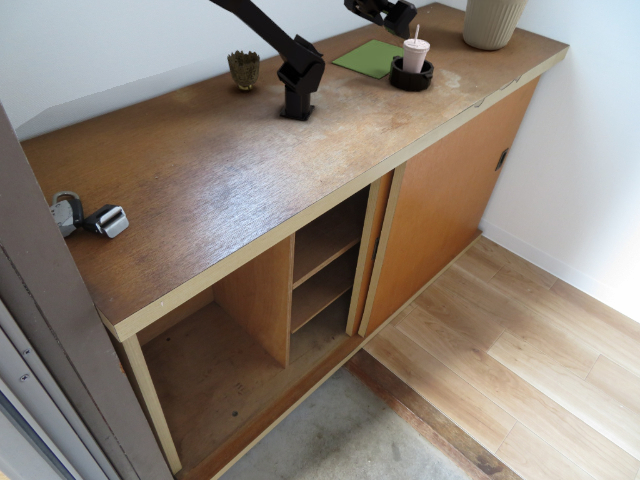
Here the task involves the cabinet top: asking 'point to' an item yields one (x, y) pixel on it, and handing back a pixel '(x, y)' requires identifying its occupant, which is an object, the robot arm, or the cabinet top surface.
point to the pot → (410, 76)
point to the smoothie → (414, 53)
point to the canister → (491, 22)
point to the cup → (244, 69)
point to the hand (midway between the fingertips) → (395, 31)
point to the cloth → (371, 58)
